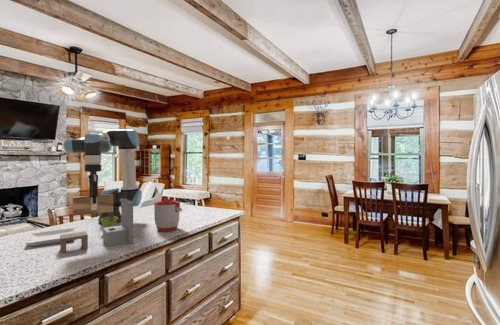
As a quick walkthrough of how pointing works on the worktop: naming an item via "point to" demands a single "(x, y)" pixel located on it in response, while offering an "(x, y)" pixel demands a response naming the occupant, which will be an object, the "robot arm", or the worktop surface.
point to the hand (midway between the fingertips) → (93, 209)
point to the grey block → (121, 226)
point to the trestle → (73, 236)
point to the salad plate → (47, 237)
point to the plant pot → (108, 222)
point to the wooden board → (84, 205)
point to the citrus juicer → (167, 214)
